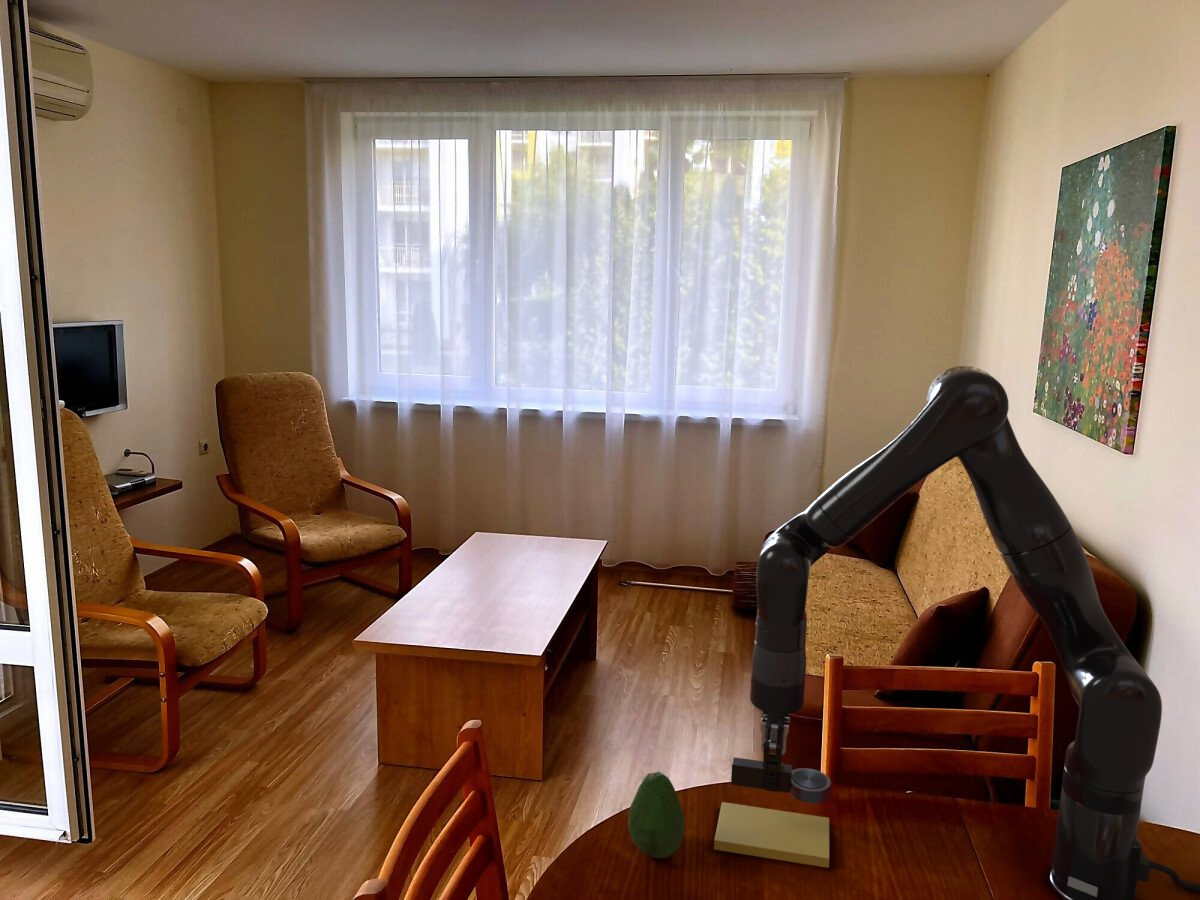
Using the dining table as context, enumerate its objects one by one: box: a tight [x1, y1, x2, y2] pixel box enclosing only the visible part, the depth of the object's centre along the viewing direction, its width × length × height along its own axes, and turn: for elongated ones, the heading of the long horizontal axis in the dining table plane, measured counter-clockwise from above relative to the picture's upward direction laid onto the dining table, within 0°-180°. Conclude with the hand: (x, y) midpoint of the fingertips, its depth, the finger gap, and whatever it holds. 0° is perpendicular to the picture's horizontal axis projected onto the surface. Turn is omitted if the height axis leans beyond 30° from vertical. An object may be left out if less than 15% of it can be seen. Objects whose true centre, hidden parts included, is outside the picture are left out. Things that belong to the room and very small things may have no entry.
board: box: [713, 801, 830, 869], centre depth 133 cm, size 16×10×2 cm, turn 76°
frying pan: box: [730, 756, 832, 805], centre depth 131 cm, size 14×6×3 cm, turn 76°
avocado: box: [627, 771, 686, 859], centre depth 128 cm, size 8×8×12 cm
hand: (771, 784), depth 132 cm, fingers closed on frying pan, 2 cm apart
